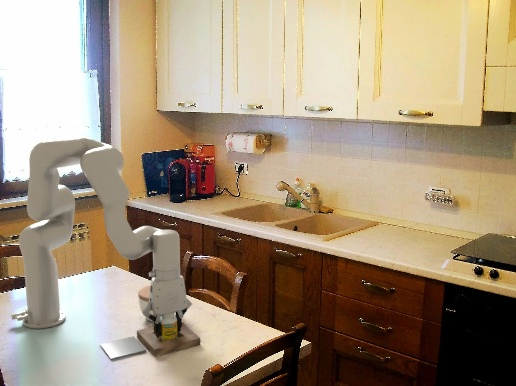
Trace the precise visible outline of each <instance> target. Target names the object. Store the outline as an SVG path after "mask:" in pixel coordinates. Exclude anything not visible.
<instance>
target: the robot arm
mask: <svg viewBox="0 0 516 386" xmlns="http://www.w3.org/2000/svg"><path fill="white" fill-rule="evenodd" d="M28 160H29V177H28V178H29V179H28V188H27V189H28V190H27V198H26V199H27V201H26V212H27V214H28V217H29V218H30V219H31V220H34V221H36V222H35V223H32V224H30V225H28V226H26V227H25V228H24V229H23V230H21V232H20V234H19V236H18V246H19V249H20V252H21V255H22V261H23V269H24V271H23V272H24V279H25V280H24V281H25V293H26V306H25V307H24V310H21V311H19V312H12V313H11V314H10V316H11V320H12V321H13V320H16V321H17V322H21V321H22V324H23V326H25V327H26V328H30V329H37V330H38V329H47V328H52V327H55V326H58V325H60V324H61V323H63V322H64V321H65V320H66V313H65V312H64V311H62V310H61V308H60V306H61V305H60V290H59V273H58V264H57V261H56V259H55V257H54V255H53V253H52V251H54V250H56V249H57V248H59V247H63V246H64V245H66V244H67V243H68V242H69V241H70V239H71V237H72V235H73V228H74V221H75V211H76V200H75V199H76V198H75V196H74V193H73V191H72V190H71V189H70V188H69V187H67V186H66V185H64V184H60V179H61V177H60V173H59V172H60V171H59V170H58V169H59V168H65V167H69V166H75V165H78V164H80V169H81V170H82V173H83V174H84V176H85V178H86V179H87V181H88V182H89V185H90V186H91V187H92V189H93V191H94V192H95V194H96V195H97V197H98V199H99V200H100V203H101V204H102V206H103V218H104V219H103V220H104V226H105V230H106V233H107V235H108V238H109V239H110V241H111V243H112V244H113V246H114V248H115V249H116V250H117V252H118V253H119V254H120V255H121V256H122V257H123V258H125V259H127V260H133V261H134V260H137V259H139V258H141V257H144V256H145V255H147V254H149V253H151V252H152V260H153V261H152V264H153V267H152V271H150V272H148V277H150V278H151V281H150V285H149V286H150V293H149V303H148V305H147V306H146V308H145V309H144V310H143V312H142V311H141V314H142V315H143V316H144V315H145V316H146V317H148V318H149V319H151V320H152V321H153V322H152V323H153V327H154V332H155V333H156V334H157V335H158V336H161V323H160V318H161V315H164V314H169V313H173V312H175V314H174V316H176V318H177V331H179V332H180V331H181V327H182V322H183V318H184V315H185V314H186V313H187V311H188V310H189V308H190V307H191V306H192V305H193V303H192V302H191V301H190V300H189V299H188V298H187V290H186V285H185V279H184V276H183V275H182V274H181V255H180V254H181V252H180V249H181V247H180V246H181V244H180V243H181V242H180V240H181V239H180V234H179V233H178V231H176V230H174V229H162V228H157V227H154V226H151V225H143V226H140V227H138V228H136V229H134V230H133V228H132V227H131V225H130V223H129V221H128V219H127V217H126V206H127V202H128V200H129V197H130V195H131V192H130V189H129V186H128V185H127V184H126V182H125V180H124V179H123V178H122V176H121V175H120V174H121V173H120V172H121V171H122V169H123V167H124V165H125V159H124V156H123V154H122V152H121V151H120V150H119V149H118V148H116V147H115V146H112V145H110V144H108V143H105V142H101V141H98V140H95V139H92V138H90V137H86V136H82V135H73V136H64V137H57V138H52V139H46V140H44V141H40V142H39V143H37V144H35V146H33V147H32V150H30V153H29V159H28ZM150 310H152V311H153V315H152V314H150V313H149V312H150ZM145 316H144V317H145ZM146 317H145V318H146ZM148 318H147V319H148Z"/></svg>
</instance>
